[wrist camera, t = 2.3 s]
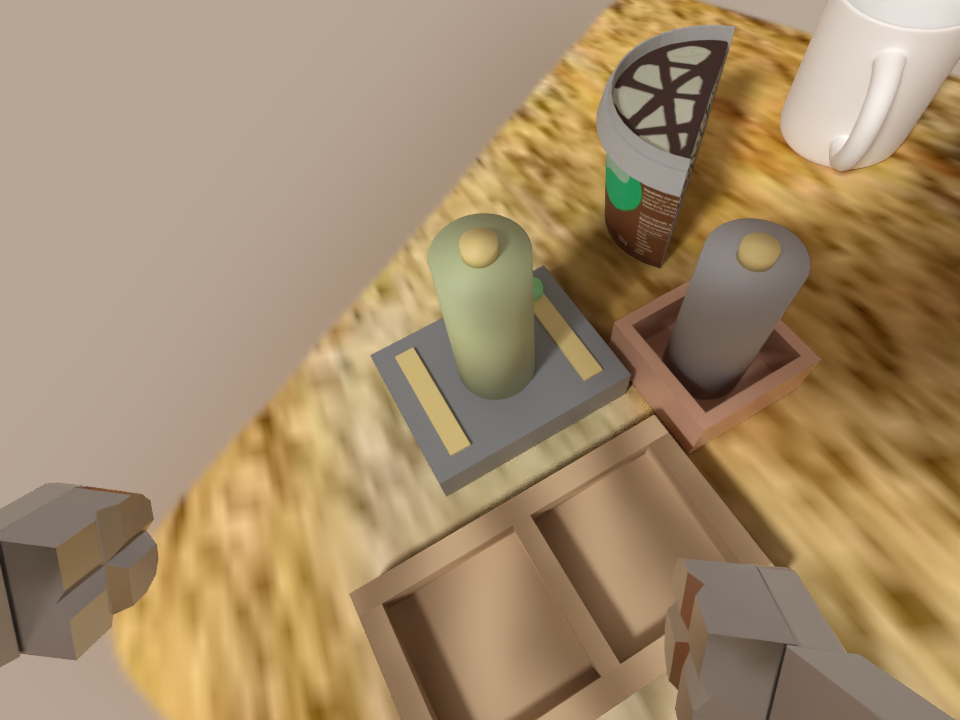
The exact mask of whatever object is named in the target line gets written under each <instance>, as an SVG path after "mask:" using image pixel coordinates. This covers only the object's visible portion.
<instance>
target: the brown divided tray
mask: <svg viewBox="0 0 960 720" xmlns="http://www.w3.org/2000/svg"><path fill="white" fill-rule="evenodd" d="M678 558H685V559H695V560H706V561H717V562H727V563H738V564H749V565H752V564H753V565H765V566H774V565H773V564H772V563H771V561H770V560H769V559H768V558H767V556H766V555H765V554H764V552H763V551H762V550H761V549H760V547H759V546H758V545H757V544H756V542H755V541H754V540H753V539H752V537H751V536H750V535H749V534H748V532H747V531H746V530H745V528H744V527H743V526H742V525H741V523H740V522H739V521H738V520H737V518H736V517H735V516H734V515H733V513H732V512H731V511H730V510H729V508H728V507H727V506H726V504H725V503H724V502H723V501H722V499H721V498H720V497H719V496H718V494H717V493H716V492H715V491H714V489H713V488H712V487H711V485H710V484H709V483H708V482H707V480H706V479H705V478H704V477H703V475H702V474H701V473H700V472H699V470H698V469H697V468H696V467H695V465H694V464H693V463H692V461H691V460H690V459H689V458H688V456H687V455H686V454H685V453H684V451H683V450H682V449H681V448H680V446H679V445H678V444H677V443H676V441H675V440H674V439H673V437H672V436H671V435H670V434H669V432H668V431H667V430H666V429H665V427H664V426H663V425H662V424H661V422H660V421H659V420H658V418H657V417H656V416H655V415H652V416H651V417H649V418H647V419H646V420H644V421H642V422H641V423H639V424H637V425H635V426H634V427H632V428H630V429H629V430H627V431H625V432H624V433H622V434H620V435H619V436H617V437H615V438H613V439H612V440H610V441H608V442H607V443H605V444H603V445H602V446H600V447H598V448H596V449H595V450H593V451H591V452H590V453H588V454H586V455H585V456H583V457H581V458H579V459H578V460H576V461H574V462H573V463H571V464H569V465H568V466H566V467H564V468H562V469H561V470H559V471H557V472H556V473H554V474H552V475H551V476H549V477H547V478H545V479H544V480H542V481H540V482H539V483H537V484H535V485H534V486H532V487H530V488H528V489H527V490H525V491H523V492H522V493H520V494H518V495H517V496H515V497H513V498H511V499H510V500H508V501H506V502H505V503H503V504H501V505H500V506H498V507H496V508H494V509H493V510H491V511H489V512H488V513H486V514H484V515H483V516H481V517H479V518H477V519H476V520H474V521H472V522H471V523H469V524H467V525H466V526H464V527H462V528H460V529H459V530H457V531H455V532H454V533H452V534H450V535H449V536H447V537H445V538H443V539H442V540H440V541H438V542H437V543H435V544H433V545H432V546H430V547H428V548H427V549H425V550H423V551H421V552H420V553H418V554H416V555H415V556H413V557H411V558H410V559H408V560H406V561H404V562H403V563H401V564H399V565H398V566H396V567H394V568H393V569H391V570H389V571H387V572H386V573H384V574H382V575H381V576H379V577H377V578H376V579H374V580H372V581H370V582H369V583H367V584H365V585H364V586H362V587H360V588H359V589H357V590H355V591H353V592H352V593H350V597H351V599H352V601H353V604H354V606H355V609H356V611H357V614H358V616H359V618H360V621H361V623H362V626H363V628H364V630H365V633H366V635H367V638H368V640H369V643H370V645H371V647H372V650H373V652H374V655H375V657H376V660H377V662H378V664H379V667H380V669H381V672H382V674H383V676H384V679H385V681H386V684H387V686H388V689H389V691H390V693H391V696H392V698H393V701H394V703H395V706H396V708H397V710H398V713H399V715H400V718H401V720H596V719H597V718H598V717H600V716H601V715H603V714H604V713H606V712H607V711H609V710H610V709H612V708H613V707H615V706H616V705H618V704H619V703H621V702H622V701H624V700H625V699H627V698H628V697H629V696H631V695H632V694H634V693H635V692H637V691H638V690H640V689H641V688H643V687H644V686H646V685H647V684H649V683H650V682H652V681H653V680H655V679H656V678H658V677H659V676H660V675H662V674H663V673H665V672H666V671H667V668H666V661H665V652H664V638H665V623H666V616H667V609H668V608H669V607H671V606H672V605H673V604H674V603H675V602H676V601H677V600H676V597H675V593H674V589H673V586H672V578H673V573H674V567H675V565H676V562H677V559H678Z"/></svg>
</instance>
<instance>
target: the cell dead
mask: <svg viewBox="0 0 960 720" xmlns="http://www.w3.org/2000/svg"><path fill="white" fill-rule="evenodd" d="M809 272H810V257H809V254H808V251H807V249H806V247H805V246H804V244H803V243H802V242H801V240H800V239H799V238H798V237H797V236H796V235H795V234H793V233H792V232H791V231H789V230H788V229H786V228H784V227H782V226H780V225H778V224H776V223H773V222H770V221H766V220H761V219H753V218H746V219H737V220H733V221H730V222H727V223H724V224H722V225H720V226H719V227H717V228H716V229H715V230H714V231H712V232H711V234H710V235H709V236H708V238H707V239H706V241H705V244H704V246H703V249H702V252H701V254H700V257H699V260H698V262H697V265H696V268H695V271H694V273H693V276H692V279H691V281H690V284H689V287H688V289H687V292H686V295H685V298H684V300H683V303H682V306H681V308H680V311H679V314H678V316H677V319H676V322H675V325H674V327H673V330H672V333H671V335H670V338H669V341H668V343H667V346H666V349H665V352H664V354H663V360H662V362H663V363H664V364H665V365H666V366H667V368H668V369H669V370H670V371H671V372H672V374H673V375H674V376H675V377H676V378H677V379H678V381H679V382H680V383H681V384H682V385H683V387H684V388H685V389H686V390H687V391H688V393H689V394H690V395H691V396H692V397H693V398H696V399H704V400H709V399H716V398H720V397H723V396H725V395H727V394H728V393H730V392H731V391H732V390H733V389H734V388H735V387H736V385H737V384H738V382H739V381H740V379H741V378H742V376H743V375H744V373H745V372H746V370H747V369H748V367H749V366H750V364H751V363H752V361H753V360H754V358H755V357H756V355H757V354H758V352H759V351H760V349H761V348H762V346H763V345H764V343H765V341H766V340H767V338H768V337H769V335H770V334H771V332H772V331H773V329H774V328H775V326H776V325H777V323H778V322H779V320H780V319H781V317H782V316H783V314H784V313H785V311H786V310H787V308H788V307H789V305H790V304H791V302H792V301H793V299H794V298H795V296H796V294H797V293H798V291H799V290H800V288H801V287H802V285H803V284H804V282H805V281H806V279H807V277H808V275H809Z"/></svg>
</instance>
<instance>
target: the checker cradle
mask: <svg viewBox="0 0 960 720" xmlns="http://www.w3.org/2000/svg"><path fill="white" fill-rule="evenodd" d="M533 298H534V337H535V371H534V374H533V377H532V379H531V381H530V382H529V384H528V385H527V386H526V387H525V388H524V389H523V390H522V391H521V392H519V393H518V394H516V395H514V396H512V397H509V398H506V399H501V400H490V399H485V398H481V397H479V396H477V395H475V394H473V393H472V392H470V391H469V390H468V389H467V388H466V387H465V385H464V384H463V383H462V381H461V379H460V376H459V372H458V369H457V365H456V362H455V358H454V354H453V351H452V347H451V343H450V340H449V336H448V333H447V329H446V325H445V322H444V318H441V319H440V320H438V321H436V322H434V323H432V324H430V325H428V326H426V327H424V328H422V329H420V330H418V331H416V332H414V333H413V334H411V335H409V336H407V337H405V338H403V339H401V340H399V341H397V342H395V343H393V344H391V345H389V346H388V347H386V348H384V349H382V350H380V351H378V352H376V353H374V354H372V355H370V356H371V358H372V359H373V361H374V363H375V365H376V367H377V369H378V371H379V373H380V374H381V376H382V378H383V380H384V382H385V384H386V386H387V387H388V389H389V391H390V393H391V395H392V397H393V398H394V400H395V402H396V404H397V406H398V408H399V410H400V411H401V413H402V415H403V417H404V419H405V421H406V423H407V424H408V426H409V428H410V430H411V432H412V434H413V436H414V437H415V439H416V441H417V443H418V445H419V447H420V449H421V450H422V452H423V454H424V456H425V458H426V460H427V461H428V463H429V465H430V467H431V469H432V471H433V473H434V474H435V476H436V478H437V480H438V482H439V484H440V486H441V487H442V489H443V491H444V493H445V495H446V497H447V496H448V495H450V494H452V493H453V492H455V491H457V490H459V489H460V488H462V487H464V486H466V485H467V484H469V483H471V482H473V481H474V480H476V479H478V478H480V477H481V476H483V475H485V474H486V473H488V472H490V471H492V470H493V469H495V468H497V467H499V466H500V465H502V464H504V463H506V462H507V461H509V460H511V459H513V458H514V457H516V456H518V455H519V454H521V453H523V452H525V451H526V450H528V449H530V448H532V447H533V446H535V445H537V444H539V443H540V442H542V441H544V440H545V439H547V438H549V437H551V436H552V435H554V434H556V433H558V432H559V431H561V430H563V429H565V428H566V427H568V426H570V425H572V424H573V423H575V422H577V421H578V420H580V419H582V418H584V417H585V416H587V415H589V414H591V413H592V412H594V411H596V410H598V409H599V408H601V407H603V406H605V405H606V404H608V403H610V402H611V401H613V400H615V399H617V398H618V397H620V396H622V395H624V394H625V393H626V391H627V387H628V384H629V380H630V377H631V374H630V373H629V371H628V370H627V369H626V368H625V366H624V365H623V364H622V363H621V361H620V360H619V359H618V358H617V356H616V355H615V354H614V353H613V351H612V350H611V349H610V348H609V346H608V345H607V344H606V343H605V341H604V340H603V339H602V338H601V336H600V335H599V334H598V333H597V331H596V330H595V329H594V328H593V326H592V325H591V324H590V323H589V321H588V320H587V319H586V318H585V316H584V315H583V314H582V313H581V311H580V310H579V309H578V308H577V306H576V305H575V304H574V303H573V301H572V300H571V299H570V298H569V296H568V295H567V294H566V293H565V291H564V290H563V289H562V288H561V286H560V285H559V284H558V283H557V281H556V280H555V279H554V278H553V276H552V275H551V274H550V273H549V271H548V270H547V269H546V268H545V266H544V265H543V266H542V267H540V268H538V269H536V270H534V271H533Z"/></svg>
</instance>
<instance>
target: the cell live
mask: <svg viewBox="0 0 960 720" xmlns="http://www.w3.org/2000/svg"><path fill="white" fill-rule="evenodd" d="M428 263H429V268H430V271H431V275H432V278H433V282H434V286H435V289H436V293H437V296H438V300H439V304H440V307H441V311H442V315H443V318H444V322H445V325H446V329H447V333H448V336H449V340H450V343H451V347H452V351H453V354H454V358H455V362H456V365H457V369H458V372H459V376H460V379H461V381H462V383H463V384H464V385H465V387H466V388H467V389H468V390H469V391H470V392H472V393H473V394H475V395H477V396H479V397H481V398H485V399H490V400H501V399H506V398H509V397H512V396H514V395H516V394H518V393H519V392H521V391H522V390H523V389H524V388H525V387H526V386H527V385H528V384H529V382H530V381H531V379H532V377H533V374H534V371H535V337H534V298H533V259H532V245H531V241H530V239H529V237H528V235H527V233H526V232H525V231H524V229H523V228H522V227H521V226H519V225H518V224H517V223H516V222H514V221H512V220H511V219H508V218H506V217H503V216H500V215H495V214H473V215H468V216H465V217H461V218H459V219H457V220H455V221H453V222H451V223H449V224H448V225H447V226H445V227H444V228H443V229H442V230H441V231H440V232H439V233H438V234H437V235H436V237H435V238H434V240H433V241H432V243H431V246H430V249H429V254H428Z"/></svg>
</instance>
